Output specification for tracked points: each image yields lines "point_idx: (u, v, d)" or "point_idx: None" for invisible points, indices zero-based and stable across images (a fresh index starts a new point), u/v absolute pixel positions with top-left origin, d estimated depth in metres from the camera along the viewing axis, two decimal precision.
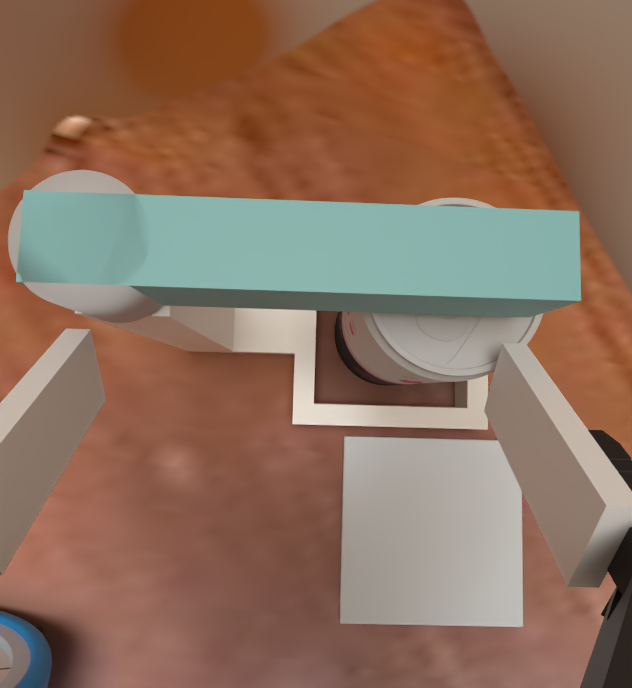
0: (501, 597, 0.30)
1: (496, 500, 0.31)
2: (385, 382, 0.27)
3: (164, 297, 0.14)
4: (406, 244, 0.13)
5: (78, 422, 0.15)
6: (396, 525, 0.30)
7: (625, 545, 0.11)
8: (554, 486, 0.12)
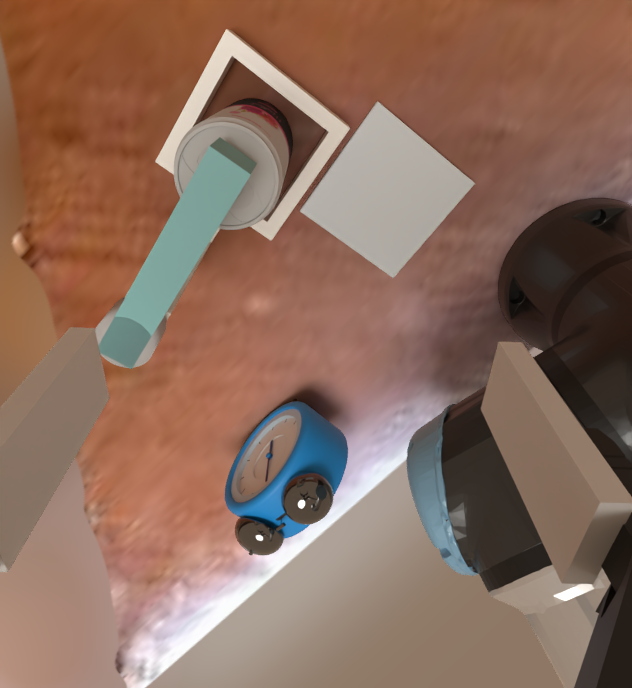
0: (450, 184, 0.44)
1: (399, 146, 0.42)
2: None
3: None
4: (186, 231, 0.27)
5: (82, 421, 0.15)
6: (368, 215, 0.45)
7: (619, 542, 0.11)
8: (549, 483, 0.12)
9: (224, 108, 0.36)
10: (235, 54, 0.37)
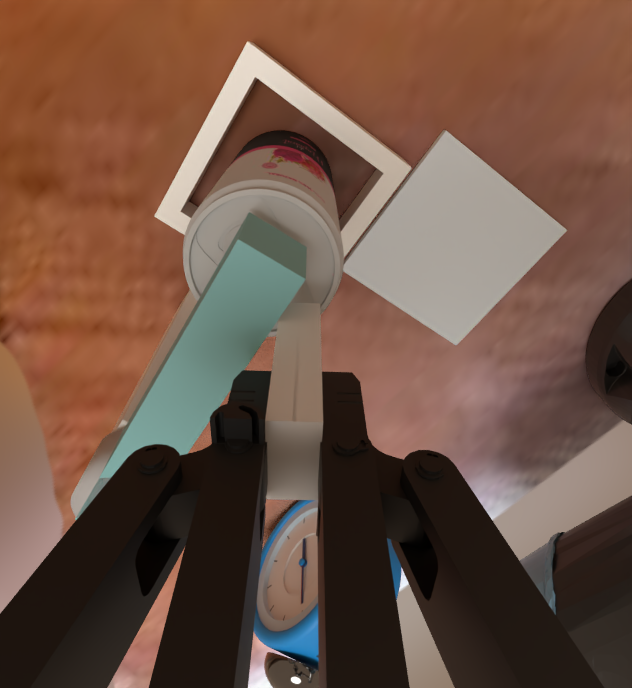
0: (535, 231, 0.34)
1: (471, 186, 0.32)
2: None
3: None
4: (202, 363, 0.17)
5: None
6: (427, 272, 0.35)
7: (319, 458, 0.12)
8: None
9: (247, 150, 0.26)
10: (259, 75, 0.27)
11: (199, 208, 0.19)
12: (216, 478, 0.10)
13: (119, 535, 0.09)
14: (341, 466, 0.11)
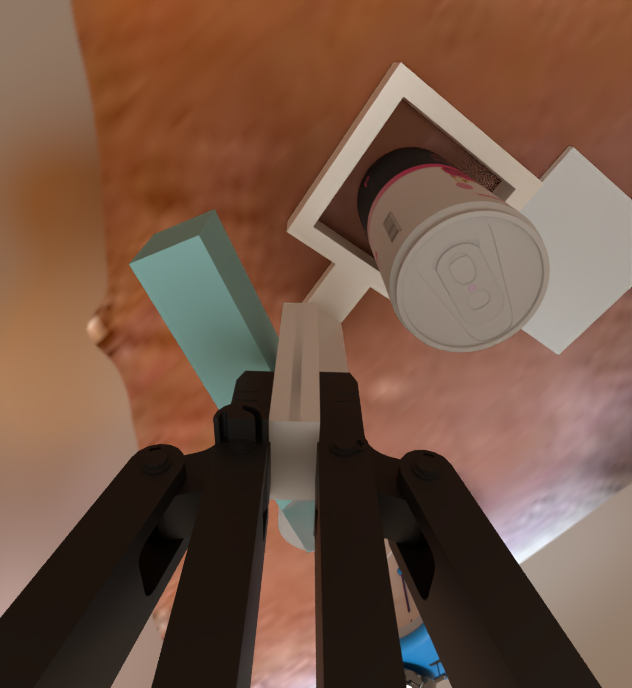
0: None
1: (591, 200, 0.33)
2: None
3: None
4: (227, 369, 0.17)
5: None
6: None
7: (316, 458, 0.12)
8: None
9: (404, 168, 0.27)
10: (408, 94, 0.28)
11: (416, 229, 0.20)
12: (219, 478, 0.10)
13: (123, 535, 0.09)
14: (338, 466, 0.11)
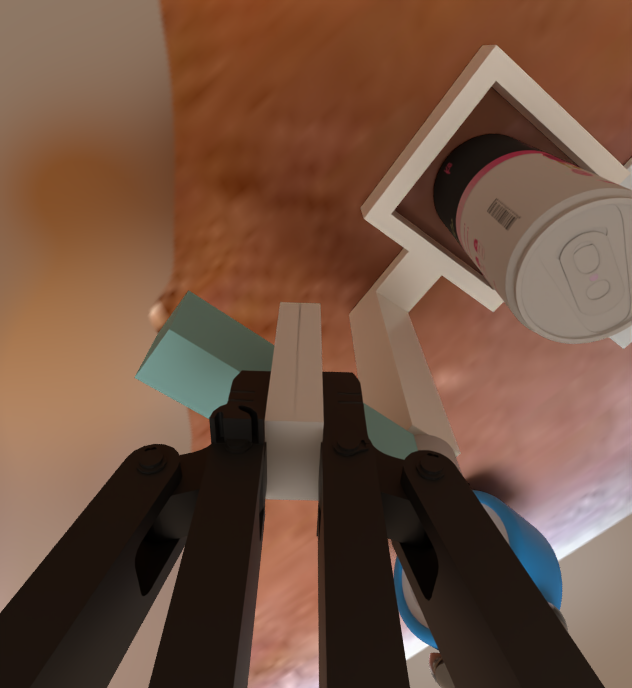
0: None
1: None
2: None
3: (411, 452, 0.21)
4: None
5: None
6: None
7: (320, 458, 0.12)
8: None
9: (498, 155, 0.26)
10: (500, 79, 0.27)
11: (543, 216, 0.19)
12: (216, 478, 0.10)
13: (118, 535, 0.09)
14: (341, 466, 0.11)
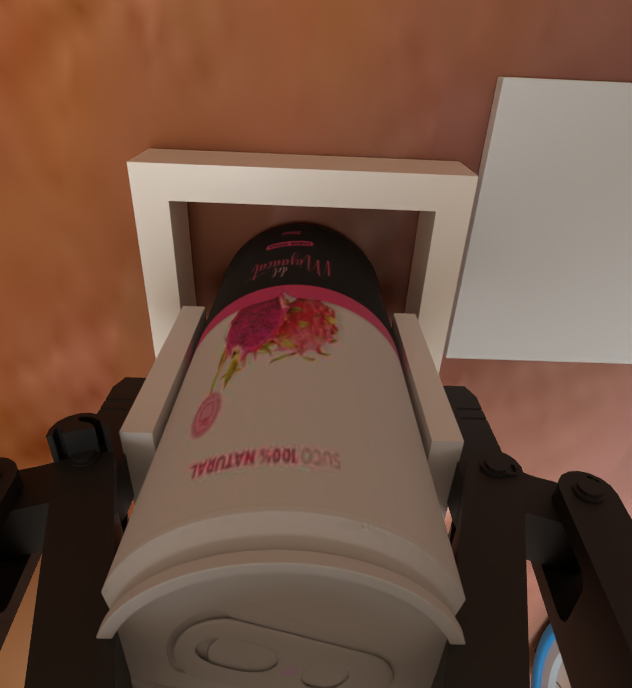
0: None
1: (596, 133, 0.17)
2: None
3: None
4: None
5: None
6: (585, 294, 0.21)
7: (455, 478, 0.12)
8: None
9: (206, 325, 0.15)
10: (173, 194, 0.17)
11: None
12: (65, 496, 0.10)
13: None
14: (486, 485, 0.11)
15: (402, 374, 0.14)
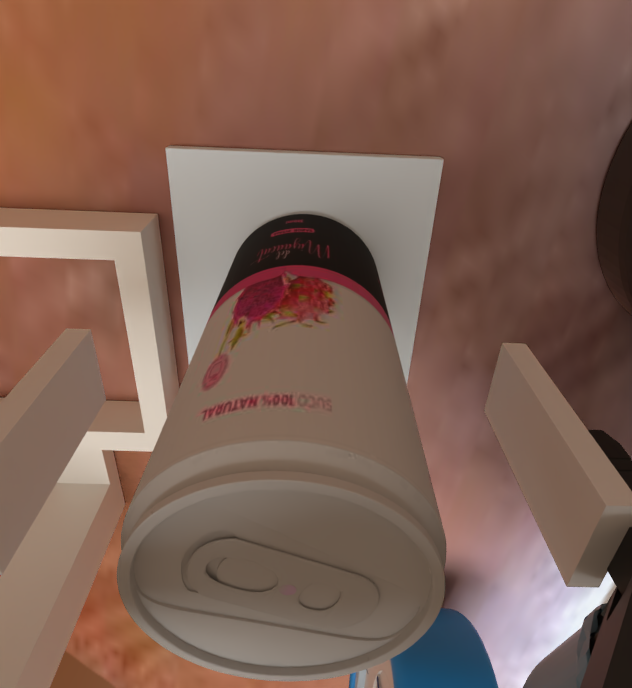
0: (397, 191, 0.20)
1: (258, 192, 0.20)
2: None
3: None
4: None
5: (78, 422, 0.15)
6: None
7: (625, 545, 0.11)
8: (554, 486, 0.12)
9: (215, 304, 0.17)
10: None
11: (122, 546, 0.10)
12: None
13: None
14: None
15: (395, 346, 0.15)
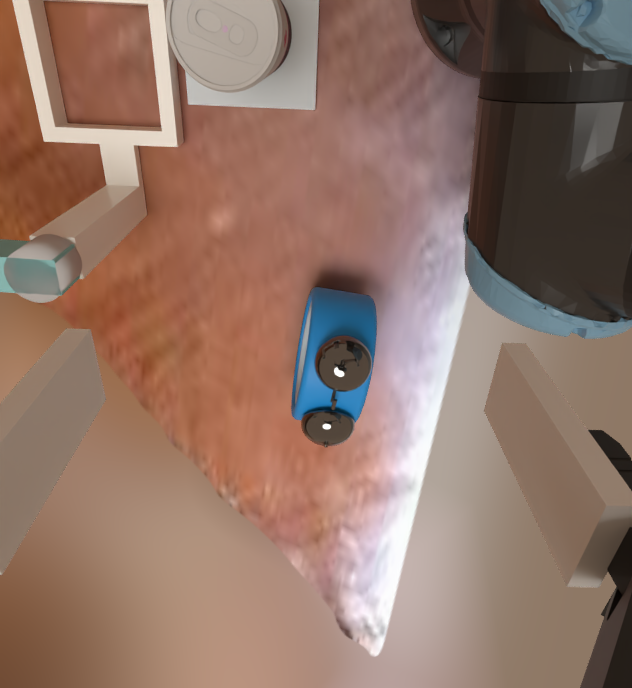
0: None
1: None
2: (288, 44, 0.37)
3: (12, 248, 0.32)
4: None
5: (78, 423, 0.15)
6: None
7: (625, 545, 0.11)
8: (554, 486, 0.12)
9: None
10: None
11: None
12: None
13: None
14: None
15: (281, 4, 0.33)
